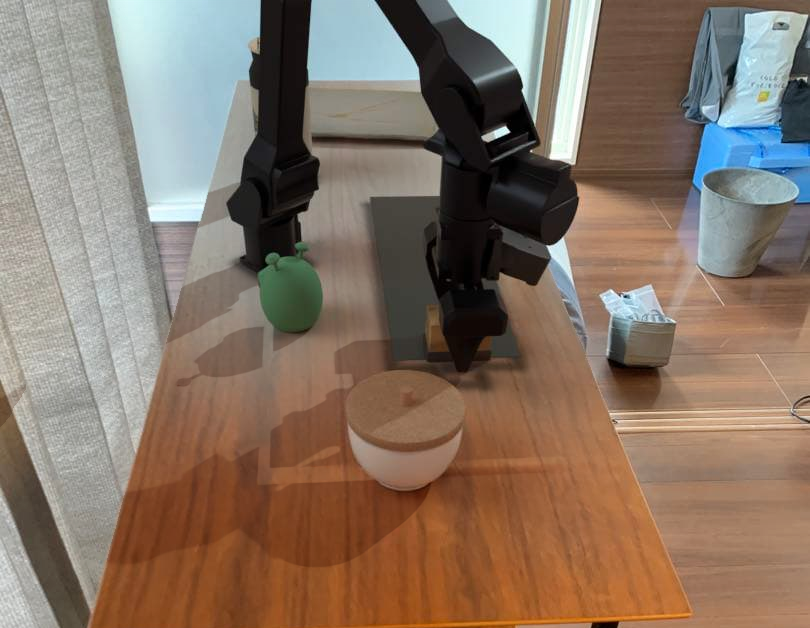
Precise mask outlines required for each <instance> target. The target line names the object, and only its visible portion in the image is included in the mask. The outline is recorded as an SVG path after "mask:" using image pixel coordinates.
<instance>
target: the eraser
mask: <svg viewBox="0 0 810 628" xmlns="http://www.w3.org/2000/svg"><path fill="white" fill-rule="evenodd" d="M491 337H492V336H487V337H485V338H484V339H483V341H482V343H481V344H480V346H479V348H478V350H477V353H476V355H475V357H474V359H473V361H491V359H492V358H491V352H492V350H491V347H490V345H491ZM423 344H424V349H425V354H426V360H425V361H426V362H427V363H428V362H429V363H432V362H435V363H436V362H453V359H452V356H451V354H450V351H449V349H448V346H447V344H446V341H445V339H444V336H443V334H442V332H441V327H440V322H439V305H427V309H426V328H425V332H424V333H423Z"/></svg>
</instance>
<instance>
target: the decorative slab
mask: <svg viewBox="0 0 810 628" xmlns="http://www.w3.org/2000/svg"><path fill="white" fill-rule="evenodd" d="M309 97H310V117H311V137H312V138H322V137H323V138H346V139H347V138H348V139H363V140H364V139H365V140H401V141H402V140H403V141H424V142H425V141H426V140H428V139H429V138H431V137H432V136H433V135H434V134H435V133H436V125H437V124H436V122H435V120H434V118H433V116H432V114H431V112H430V110H429V108H428V106H427V104H426V102H425V100H424V98H423V96H422V94H421V91H410V90H406V91H405V90H386V89H377V90H376V89H357V88H356V89H355V88H328V87H327V88H325V87H314V86H309Z"/></svg>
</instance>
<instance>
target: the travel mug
mask: <svg viewBox="0 0 810 628" xmlns="http://www.w3.org/2000/svg"><path fill="white" fill-rule="evenodd" d="M247 48H248V49H249V51H250V53H251V57H252V59H251V60H252V61H251V64H250V66H249V69H248V77H249V87H250V88H249V89H250V99H251V108H252V109H251V110H252V118H253V129H254V137H255V136H256V134H257V131H258V96H259V49H260V36H258V37H254V38H252V39H251V40H249V42H248V44H247ZM309 80H310V78H309V69H308V68H307V78H306V93H305V109H304V124H303V140H304V141H305V143H306V145H307V147H308V149H309V151H310V153H311V154H312V155H313V137H311V117H310V97H309V87H310V81H309Z"/></svg>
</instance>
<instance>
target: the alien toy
mask: <svg viewBox="0 0 810 628" xmlns="http://www.w3.org/2000/svg"><path fill="white" fill-rule="evenodd" d="M295 247H296V249H297V250H298V251H299V253H297V254H298V255H297V256H296V257H282V258H280V256H279V255H278V254H277V253H270V254H269V255H268V256H267V257H266V260H265V261H266V263H267V264H269V266H267V267H266V268H264V269H263V270H262V271H260V272H259V273H258V272H257V280H258V282H257V283H258V284H257V285H258V288H259V301H260V306H261V310H262V312H263V314H264V316H265V318H266V319H267V320H268V322H269V323H270V324H271V326H273V327H274V328H275V329H277V330H279V331H281V332H285V333H300V332H303V331H306V330H309V329H310V328H312V327H313V326H314V325H315V324H316V323H317V321H318V319H319V317H320V315H321V312H322V309H323V303H324V292H323V286H322V282H321V279H320V277H319V274H318V273H317V271H316V270H315V269H314V267H313V266H312V265H311V264H310V263H308V262H307V261H306V260H304V259H303V256H304V253H306V252H308V251H309V250H310V247H309V245H308V244H307V243H306V242H304V241H302V242H299V243H297V244H295Z"/></svg>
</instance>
